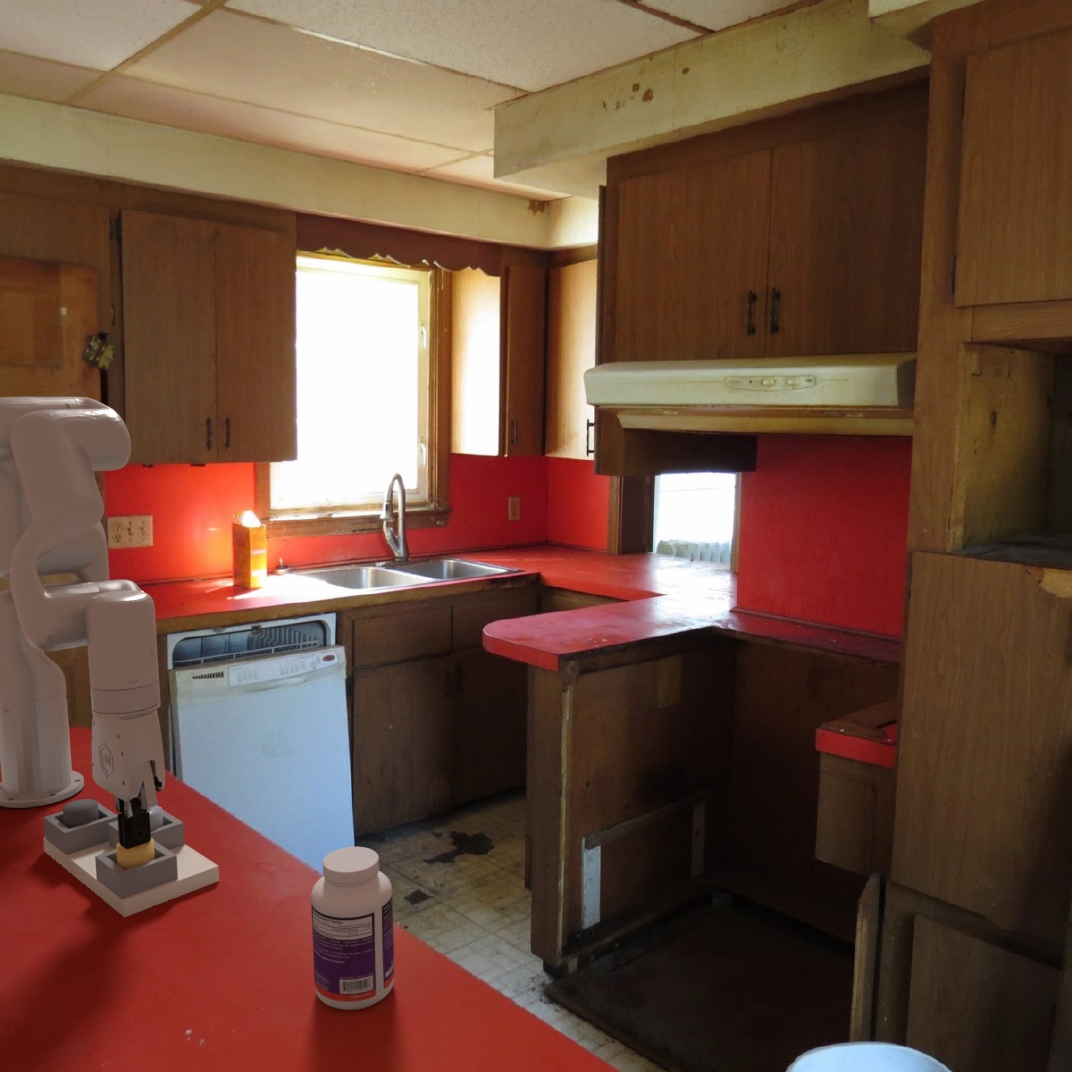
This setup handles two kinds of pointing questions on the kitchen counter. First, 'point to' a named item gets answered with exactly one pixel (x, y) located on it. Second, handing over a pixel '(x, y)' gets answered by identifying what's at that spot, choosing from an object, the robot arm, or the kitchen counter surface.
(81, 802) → the charcoal button
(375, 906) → the pill bottle
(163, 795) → the kitchen counter surface
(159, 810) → the slate button
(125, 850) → the mustard button
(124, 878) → the console
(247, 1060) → the kitchen counter surface
